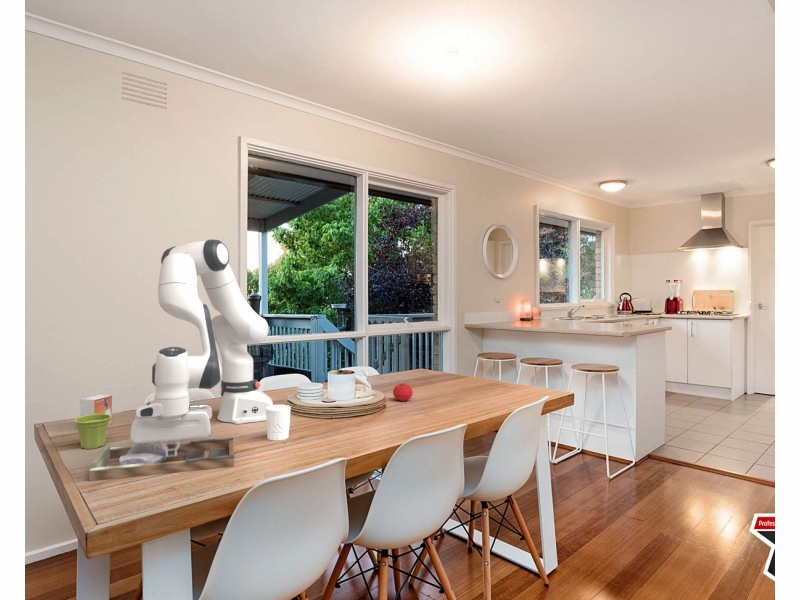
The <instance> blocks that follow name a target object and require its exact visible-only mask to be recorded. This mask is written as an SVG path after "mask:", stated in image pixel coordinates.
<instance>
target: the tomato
mask: <svg viewBox="0 0 800 600" xmlns="http://www.w3.org/2000/svg"><path fill="white" fill-rule="evenodd" d="M392 394H393V397H394V398H395V400H397V401H399V402H406V401H409V400H410V399H411V398H412V396H413V394H414V392H413V389H412V386H411V385H410V384H407V383H405V382H402V383H398V384H397V385H395V386H394V388H393V390H392Z"/></svg>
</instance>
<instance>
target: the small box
mask: <svg viewBox="0 0 800 600" xmlns="http://www.w3.org/2000/svg"><path fill="white" fill-rule="evenodd" d="M79 402H80V403H79V417H82V416H87V415H94V414H108V415H111V418H110V419H109V423H108V427H109V426H112V422H113V419H112V417H113V416H112V415H113V395H112V394H111V395H110V394H96V395H92V396H88V397H85V398H81V399H79Z"/></svg>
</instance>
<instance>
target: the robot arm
mask: <svg viewBox="0 0 800 600" xmlns="http://www.w3.org/2000/svg"><path fill="white" fill-rule="evenodd" d="M160 258H161V259H160V262H161V263H160V264H161V265H160V266H161V268H160V271H159V277H158V284H157V285H158V286H157V299H158V304H159V307H160V308H161V309H162V310H163V311H164V312H165V313H167V314H168V315H169V316H172V317H174V318H177V319H180V320H181V321H182V320H183V321H185V322H188V323H191V324H192V325H193V326H195V327H196V328H197V329H198V331H199V335H200V342H201V347H202V353H201V354H200V355H189V353H188V350H187V349H186V348H183V347H179V346H169V347H165V348H162V349H160V350H158V352H157V356H156V360H155V363H154V364H153V365H152V367H151V370H152V373H151V383H152V384H153V385H154V387H155V388H156V389H155V393H154V400H152V401H147V402H145V403H142V404H140V405H139V406H138V407H137V408H136V409H135V418H134V419H133V421H132V422H131V423H132V424H131V428H130V435H129V441H130V443H132V444H134V445H138V444H144V443H149V444H152V443H159V442H160V445H162V447H163V448H164V450H165V451H166V457H167V458H169V457H178V453H177V450H178V448H179V446H180V445H181V443H183V441H185V440H197V439H198V440H201V439H208V438H209V437H210V436H211V430H212V429H211V419H212V417H213V409H212V407H211V406H209V405H207V404H201V405H200V404H191V405H190V391H189V389H202V390H204V389H205V390H208V389H209V390H211V389H213V388H215V386H217V385H218V384H219V383H220V382H221V383H220V396H221V397H220V398H221V401H220V405H219V409H218V410H219V411H218V414H217V420H218V421H221V422H225V423H232V424H235V425H238V424H239V425H240V424H246V423H247V424H248V423H254V422H255V423H257V422H266V407H268V406H271V405H274V402H273V400H272V397H271V396H269V395H268V394H266V393H265V392H263V391H262V390H260V387H261V382H259V381H258V380H257V379H254V358H253V357H252V355H251V354H250V353H249V352H248V351H247V348H246V345H254V344H255V345H256V344H260V343H263V342H264V341H265V340H266V339H267V338H268V335H269V331H270V330H269V329H270V327H269V324H268V321H267V320H266V319H265V318H263V317H262V316H260V315H259V314H258V313H257V312H256V311H255V310H254V309H253V308H252V306H250V304H249V303H248V301H247V300H246V298H245V297H244V295H243V293H242V291H241V288H240V286H239V284H238V281H237V278H236V276H235V273H234V271H233V269H232V267H231V265H230V264H229V262H230V253H229V249H228V247H227V246H226V245H225V243H223V242H222V241H221V240H218V239H207V240H199V241H191V242H189V243H184V244H181V245H177V246H172V247H169V248H168V249H166V250H164V252H163V253H162V255H161V257H160ZM198 276H200V279H201V280H200V281H201V282H202V285H203V288H204V290H205V292H206V294H207V297H208V299H209V302H210V304H211V306H212V307H213V309H214V310H215V311H217V312H218V313H219V314H218V315H215V316H213V317H211V313H210V309H209V307H208V305H207V304H205V303H203V301H201V299H200V297H199V293H198ZM216 344H217V345H216ZM217 346H218V350H219V353H220V356H221V360H220V359H219V356H218V351H217ZM172 441H173V442H175V443H176V444H177V445H176V447H175V448H173V449H169V448H168V446H167V444H169V442H172Z"/></svg>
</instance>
